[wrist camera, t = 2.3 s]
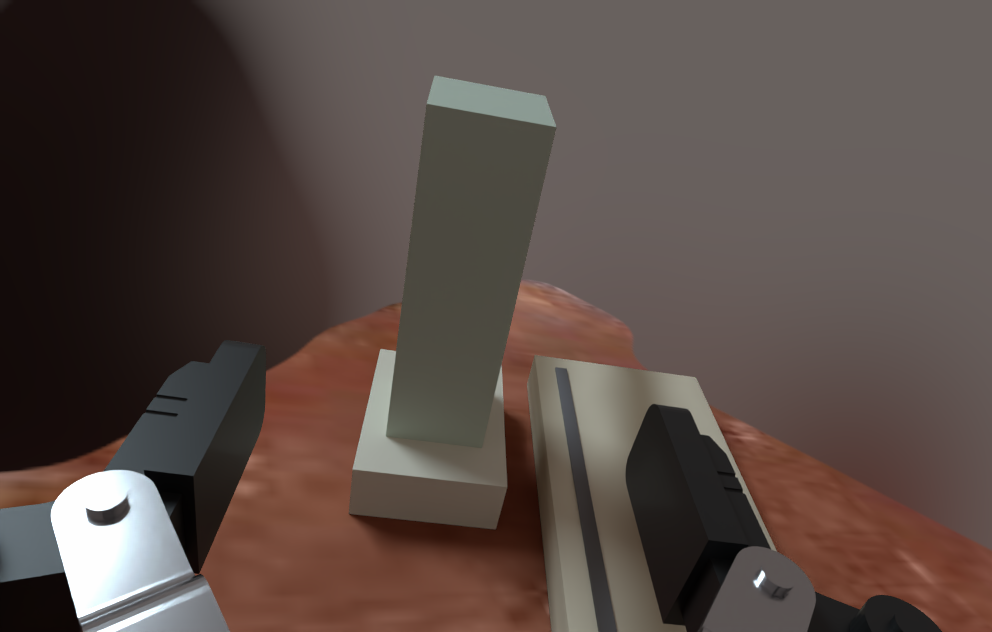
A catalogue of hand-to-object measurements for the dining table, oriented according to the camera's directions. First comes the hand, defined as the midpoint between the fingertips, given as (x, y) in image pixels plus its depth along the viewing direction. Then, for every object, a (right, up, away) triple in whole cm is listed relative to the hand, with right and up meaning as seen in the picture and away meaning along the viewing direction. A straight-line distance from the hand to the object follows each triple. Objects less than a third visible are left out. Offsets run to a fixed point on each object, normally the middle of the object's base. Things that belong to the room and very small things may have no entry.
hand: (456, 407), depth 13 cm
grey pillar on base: (-2, -4, +16) cm, 17 cm away
